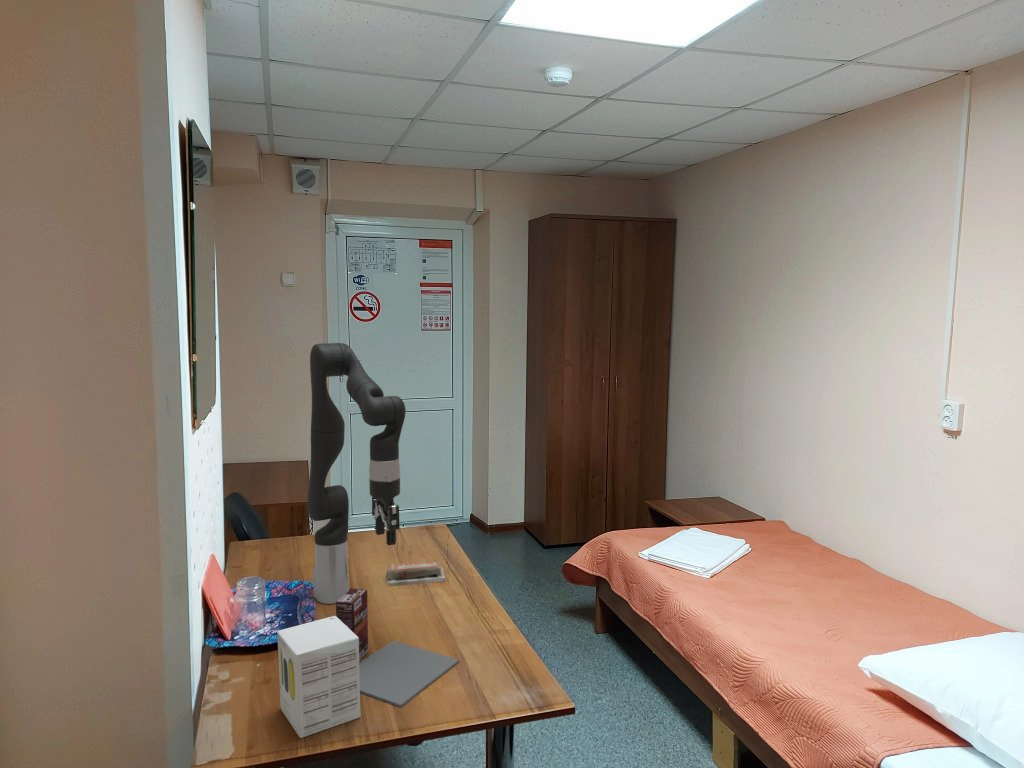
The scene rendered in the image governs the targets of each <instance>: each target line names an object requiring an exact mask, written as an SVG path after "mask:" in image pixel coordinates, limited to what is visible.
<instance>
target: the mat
mask: <svg viewBox="0 0 1024 768" xmlns="http://www.w3.org/2000/svg"><path fill="white" fill-rule="evenodd" d="M458 662H459V663H460V659H457V658H454V657H451V656H447V655H443V654H440V653H437V652H434V651H430V650H427V649H423V648H420V647H417V646H414V645H410V644H407V643H404V642H399V641H397V640H392V641H390V642H389V643H388V644H386V645H384V646H383V647H381V648H380V649H378V650H377V651H375V652H373V653H372V654H370V655H369V656H367V657H366V658H364V659H361V660H360V661H359V676H360V694H362V695H365V696H368V697H370V698H374V699H375V700H378V701H381V702H385V703H388V704H389V705H393V706H396V707H398V708H402V707H403V706H404V705H406V704H408V703H409V702H410V701H411V700H412V699H414V698H415V697H416V696H417V695H419V694H420V693H422V692H423V691H424V690H425V689H427V688H428V687H429V686H430V685H432V684H433V683H434V682H436V681H437V680H439V678H441V677H442V676H444V675H445V674H446V673H447V672H449V671H450V670H451V669H452V668H454V667H455V666H456V665H458V664H459V663H458ZM457 663H458V664H457ZM455 664H456V665H455ZM454 665H455V666H454ZM453 666H454V667H453ZM450 668H451V669H450ZM449 669H450V670H449ZM445 672H446V673H445ZM444 673H445V674H444ZM435 680H436V681H435Z"/></svg>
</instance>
